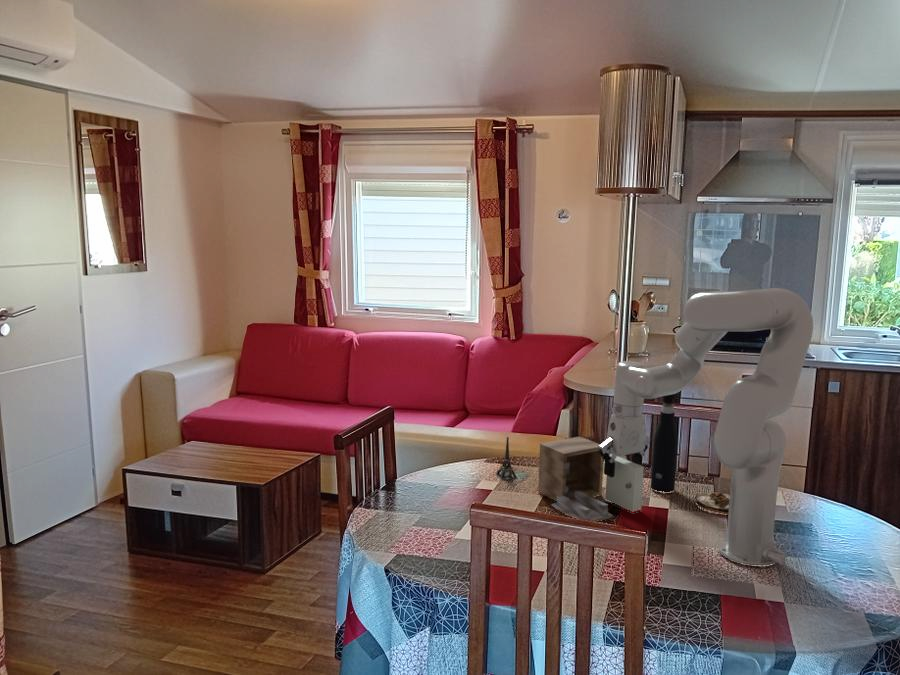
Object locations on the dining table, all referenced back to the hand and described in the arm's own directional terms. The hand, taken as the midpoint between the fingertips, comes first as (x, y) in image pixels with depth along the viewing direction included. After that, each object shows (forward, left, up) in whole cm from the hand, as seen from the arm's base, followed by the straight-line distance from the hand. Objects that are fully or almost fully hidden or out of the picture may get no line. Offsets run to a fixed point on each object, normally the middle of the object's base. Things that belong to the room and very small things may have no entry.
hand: (622, 472), depth 189 cm
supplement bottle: (+14, -12, -9) cm, 21 cm away
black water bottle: (+2, -18, -9) cm, 20 cm away
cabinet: (+6, +9, -9) cm, 14 cm away
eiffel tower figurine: (+32, +14, -10) cm, 36 cm away
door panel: (-1, 0, -9) cm, 9 cm away
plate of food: (-14, -22, -10) cm, 28 cm away
